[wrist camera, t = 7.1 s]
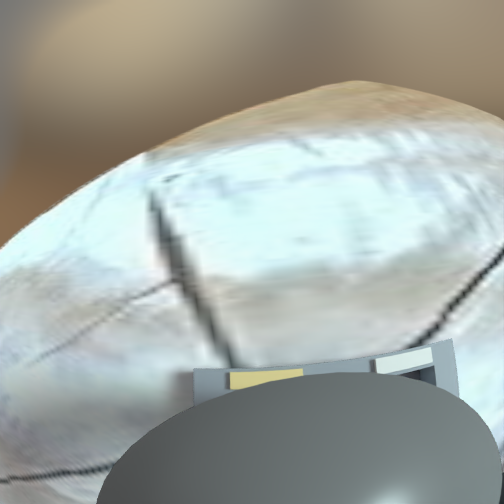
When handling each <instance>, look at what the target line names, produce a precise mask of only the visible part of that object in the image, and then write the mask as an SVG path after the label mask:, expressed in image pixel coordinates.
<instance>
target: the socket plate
mask: <svg viewBox="0 0 504 504" xmlns="http://www.w3.org/2000/svg"><path fill="white" fill-rule="evenodd" d="M416 370H420V378H421V381H424V382H427V383H429V384H432V385H434V386H437V387H439V388H442V389H444V390H446V391H448V392H450V393H451V394H453V395H455V396H456V397H458V398H459V386H458V376H457V368H456V360H455V353H454V347H453V341H452V338H451V339H448V340H444V341H440V342H436V343H432V344H428V345H424V346H420V347H415V348H411V349H406V350H401V351H396V352H391V353H386V354H381V355H375V356H369V357H363V358H356V359H350V360H342V361H335V362H327V363H318V364H308V365H297V366H284V367H268V368H242V369H194V406H196V405H198V404H201V403H203V402H205V401H208V400H210V399H213V398H216V397H219V396H222V395H225V394H227V393H230V392H233V391H235V390H239V389H243V388H247V387H251V386H255V385H258V384H262V383H266V382H269V381H275V380H281V379H287V378H292V377H298V376H303V375H313V374H325V373H335V372H372V373H380V374H389V375H399V374H404V373H408V372H412V371H416Z"/></svg>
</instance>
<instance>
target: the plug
mask: <svg viewBox="0 0 504 504" xmlns="http://www.w3.org/2000/svg"><path fill="white" fill-rule="evenodd" d="M501 488H502V467H501V458H500V455H499V451H498V447H497V444H496V441H495V439H494V437H493V435H492V433H491V431H490V429H489V427H488V426H487V425H486V423H485V422H484V421H483V419H482V418H481V417H480V416H479V414H478V413H477V412H476V411H475V410H473V409H472V408H471V407H470V406H469V405H468V404H467V403H465V402H464V401H463V400H461V399H460V398H458V397H456V396H455V395H453V394H451V393H450V392H448V391H446V390H444V389H442V388H439V387H437V386H434V385H432V384H429V383H427V382H424V381H420V380H416V379H411V378H407V377H403V376H399V375H389V374H380V373H372V372H335V373H325V374H313V375H303V376H298V377H292V378H287V379H281V380H275V381H269V382H266V383H262V384H258V385H255V386H251V387H247V388H243V389H239V390H235V391H233V392H230V393H227V394H225V395H222V396H219V397H216V398H213V399H210V400H208V401H205V402H203V403H201V404H198V405H196V406H194V407H192V408H190V409H188V410H186V411H184V412H181V413H179V414H177V415H175V416H174V417H172V418H170V419H169V420H167V421H165V422H164V423H162V424H161V425H159V426H157V427H156V428H154V429H152V430H151V431H150V432H148V433H147V434H146V435H145V436H143V437H142V438H141V439H140V440H138V441H137V442H136V443H135V444H133V445H132V446H131V447H130V448H129V449H128V450H127V451H126V452H125V454H124V455H123V456H122V457H121V458H120V459H119V460H118V461H117V462H116V463H115V465H114V467H113V468H112V470H111V471H110V473H109V474H108V476H107V477H106V479H105V481H104V483H103V485H102V488H101V491H100V493H99V496H98V498H97V503H96V504H499V501H500V496H501Z"/></svg>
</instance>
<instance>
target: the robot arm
mask: <svg viewBox="0 0 504 504" xmlns="http://www.w3.org/2000/svg"><path fill="white" fill-rule="evenodd" d="M499 504H504V472H503V473H502V488H501V496H500V501H499Z"/></svg>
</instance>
